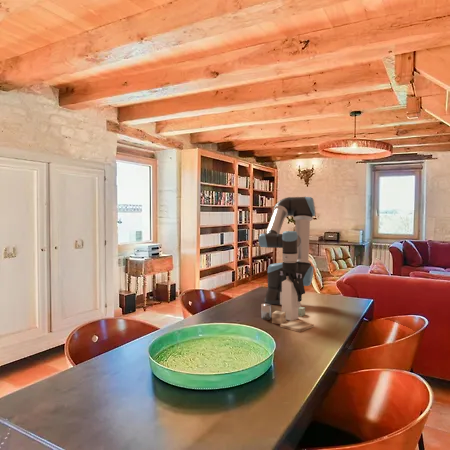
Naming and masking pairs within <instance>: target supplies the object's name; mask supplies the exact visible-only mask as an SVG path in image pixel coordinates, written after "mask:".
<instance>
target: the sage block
mask: <svg viewBox="0 0 450 450" xmlns="http://www.w3.org/2000/svg"><path fill="white" fill-rule="evenodd" d="M304 316H306V307H305V306H300V308H298V317H304Z"/></svg>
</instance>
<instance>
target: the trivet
mask: <svg viewBox="0 0 450 450" xmlns="http://www.w3.org/2000/svg"><path fill="white" fill-rule="evenodd" d="M279 326H280V328H284V329H287V330H291V331H293V332H294V331H295V332H297V333H301V332H304V331H307V330H309V329H312V328H314V324H313V323H309V322H306V321H301V320H298V319H296V320H292V321H289V320H288V321H286V322H285V323H283V324H279Z"/></svg>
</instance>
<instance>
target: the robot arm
mask: <svg viewBox="0 0 450 450" xmlns="http://www.w3.org/2000/svg"><path fill="white" fill-rule="evenodd" d="M271 213H272V214H271V218H270V220H269V223H268V225H267V228H266V230H265V233H264V232H263V233H260V234H259V235H258V245H259V247H261V248H266V249H269V248H270V249H271V248H273V249H274V248H275V249H277V248H280V249H282V262H276V263H271V264H269V265H268V267H267V271H266V272H267V290H266V293H265V296H264V302H265V303H267V304H271V305H281V306H282V281H284V280H286V276H289V279H290V280H291V281H292V282H293V285H294V287H295V290H296V292H297V295H296V308H300V307H301V302H302V300H303V299H302V298H303V297H302V295H305V294H306V290H305V289H306V288H305V287H309V286H310V285H312V281H313V278H314V266H313V265H312V263H311V262H310V260H309V257H310V256H309V255H310V254H309V253H310V231H311V229H310V228H311V227H310V226H311V224H310V223H311V221H312V220H313V217H315V216H316V206H315V200H314V198H313V197H312V196H288V197H284V198H282V199H280V200H278V202H276V203H275V205H273V208H272V211H271ZM287 217H292V219H293V220H294V221H295V223H294V224H295V225H294V226H295V227H294V231H293V230H288V231H287V230H285V231H282V233H281V230H282V227H283V224H284V221H285V219H286V218H287ZM294 279H295V280H294ZM297 281H298V282H297Z"/></svg>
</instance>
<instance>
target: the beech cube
mask: <svg viewBox="0 0 450 450" xmlns="http://www.w3.org/2000/svg"><path fill="white" fill-rule="evenodd" d="M286 322H287V320H286V312H282V310H275V311H273V312H271V323H272V324H276V325H280V324H283V323H286Z"/></svg>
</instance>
